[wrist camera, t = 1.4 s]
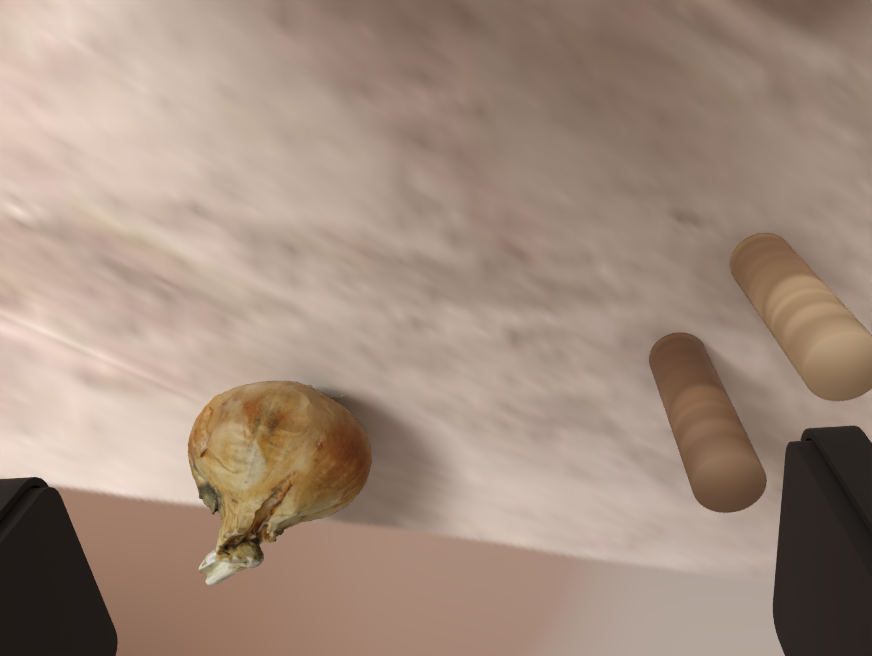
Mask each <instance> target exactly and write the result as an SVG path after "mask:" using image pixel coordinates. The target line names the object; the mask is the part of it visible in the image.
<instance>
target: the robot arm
mask: <svg viewBox="0 0 872 656" xmlns="http://www.w3.org/2000/svg"><path fill="white" fill-rule="evenodd" d="M773 618H774V624H775V629H776V633H777V636H778V639H779V641H780V644H781V647H782V649H783V652H784V654H785V656H872V443H871V442H870V440H869V439H868V437H867V436H866V435H865V433H864V432H863V431H862V430H861V429H860V428H859V427H857V426H840V427H824V428H808V429H806V430H804V432H803V434H802V437H801V441H795V442H789V443H788V445H787V448H786V455H785V466H784V478H783V490H782V502H781V514H780V526H779V538H778V550H777V562H776V573H775V585H774V597H773ZM116 651H117V634H116V630H115V628H114V625H113V623H112V621H111V618H110V616H109V613H108V611H107V608H106V606H105V603H104V601H103V598H102V596H101V593H100V591H99V589H98V586H97V584H96V581H95V579H94V576H93V574H92V571H91V569H90V567H89V564H88V562H87V559H86V557H85V554H84V552H83V549H82V547H81V544H80V542H79V540H78V537H77V535H76V532H75V530H74V528H73V525H72V522H71V520H70V518H69V515H68V513H67V510H66V508H65V505H64V503H63V500H62V498H61V496H60V494H59V492H58V491H57V490H56V489H55V488H51V487H49V486H48V485H47V483H46V482H45V481H44V480H42V479H41V478H37V477H30V478H14V479H0V656H116Z"/></svg>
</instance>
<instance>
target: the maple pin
mask: <svg viewBox="0 0 872 656" xmlns="http://www.w3.org/2000/svg"><path fill="white" fill-rule="evenodd" d="M730 267H731V272H732V275H733V276H734V278H735V280H736V281H737V283H738V284H739V285H740V287H741V288H742V290H743V291H744V293H745V294H746V296H747V297H748V299H749V300H750V302H751V303H752V305H753V306H754V308H755V309H756V311H757V312H758V314H759V315H760V317H761V318H762V320H763V321H764V323H765V324H766V326H767V327H768V329H769V330H770V332H771V333H772V335H773V336H774V338H775V339H776V341H777V342H778V344H779V345H780V347H781V348H782V350H783V351H784V352H785V354H786V355H787V357H788V358H789V360H790V361H791V363H792V364H793V366H794V367H795V369H796V370H797V372H798V373H799V375H800V376H801V378H802V379H803V381H804V382H805V384H806V385H807V387H808V388H809V389H810V390H811V392H813V393H814V394H815V395H817V396H818V397H821V398H823V399H826V400H831V401H844V400H850V399H853V398H856V397H859V396H861V395H863V394H864V393H866V392H868V391H869V390H870V389H872V335H871V334H870V333H869V332H868V331H867V330H866V328H865V327H864V326H863V325H862V324H861V323H860V322H859V321H858V320H857V319H856V318H855V317H854V315H853V314H852V313H851V312H850V311H849V310H848V309H847V308H846V307H845V306H844V305H843V303H842V302H841V301H840V300H839V299H838V298H837V297H836V296H835V295H834V294H833V293H832V291H831V290H830V289H829V288H828V287H827V286H826V285H825V284H824V283H823V282H822V281H821V280H820V278H819V277H818V276H817V275H816V274H815V273H814V272H813V271H812V270H811V269H810V268H809V266H808V265H807V264H806V263H805V262H804V261H803V260H802V259H801V258H800V257H799V256H798V255H797V253H796V252H795V251H794V250H793V249H792V248H791V247H790V246H789V245H788V244H787V243H786V241H784V240H783V239H782V238H781V237H779V236H777V235H774V234H768V233H763V234H756V235H753V236H751V237H749V238H747V239H745V240H744V241H742V242H741V243H740V244H739V245H738V246H737V248H736V249H735V251H734V252H733V254H732V257H731V262H730Z"/></svg>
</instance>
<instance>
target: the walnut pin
mask: <svg viewBox="0 0 872 656" xmlns="http://www.w3.org/2000/svg"><path fill="white" fill-rule="evenodd" d="M649 362H650V366H651V369H652V372H653V375H654V378H655V381H656V384H657V387H658V390H659V393H660V396H661V399H662V402H663V405H664V408H665V411H666V414H667V417H668V420H669V423H670V426H671V428H672V431H673V434H674V437H675V440H676V443H677V446H678V449H679V452H680V455H681V458H682V461H683V464H684V467H685V470H686V473H687V476H688V479H689V482H690V485H691V488H692V491H693V494H694V496H695V498H696V499H697V501H698V502H699V503H700V504H701V505H703V506H704V507H706V508H707V509H710V510H712V511H716V512H723V513H729V512H736V511H740V510H743V509H745V508H747V507H749V506H751V505H752V504H754V503H755V502H756V501H757V500H758V499H759V498H760V497H761V496H762V494H763V492H764V490H765V487H766V481H767V480H766V474H765V471H764V469H763V467H762V465H761V463H760V461H759V459H758V457H757V455H756V453H755V451H754V448H753V446H752V444H751V442H750V440H749V438H748V436H747V434H746V432H745V430H744V428H743V426H742V424H741V422H740V420H739V418H738V415H737V413H736V411H735V409H734V407H733V405H732V403H731V401H730V399H729V397H728V395H727V393H726V391H725V389H724V387H723V385H722V383H721V380H720V378H719V376H718V374H717V372H716V370H715V368H714V366H713V364H712V362H711V360H710V358H709V356H708V354H707V352H706V350H705V347H704V345H703V344H702V342H701V341H700V340H699V339H698V338H696V337H695V336H693V335H690V334H687V333H673V334H670V335H667V336H665V337H663V338H661V339H660V340H659V341H658V342H657V343H656V344H655V345H654V346H653V348H652V350H651V352H650V356H649Z"/></svg>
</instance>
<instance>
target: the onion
mask: <svg viewBox="0 0 872 656" xmlns="http://www.w3.org/2000/svg"><path fill="white" fill-rule="evenodd" d="M343 396H344V395H338V396H328V397H327V396H326V395H324V394H323V393H321V392H319V391H318V390H316V389H314V388H313V387H312V386H311V385H308V386H306V385H303V384H301V383H298V382H291V381H266V382H258V383H253V384H247V385H243V386H240V387H236V388H233V389H231V390H229V391H226V392H224V393H222V394H219V395H217V396H215V397H214V398H213V399H212V400H211V401H210V402H209V403H208V405H207V406H206V407H205V408H204V409H203V411H202V412H201V413H200V415H199V416H198V417H197V418H196V420H195V423H194V425H193V428H192V431H191V434H190V437H189V442H188V456H189V462H190V467H191V471H192V475H193V477H194V479H195V482H196V484H197V488H198V491H199V498H200V499H203V502H204V504H205V505H207V506H208V507H209V508H210V509H211V510H212V514H214V513H215V512H216V511H218V512H219V513H220V516H221V520H222V522H221V526H220V530H219V534H218V541H217V546H216V549H213V551H212V552H210V553H209V554H208V555H207V556H206V558H205V559H204V561H203V562H202V563H201V565H200V567H199V572H201V573H204V574H207V576H208V577H207V579H206V581H205V582H206V583H207V584H208V585H209V586H210V585H215V584H218V583H220V582H222V581H223V580H225V579H227V578H228V577H230V576H231V575H233V574H234V573H235V572H238V571H241V570H244V569H246V568H255V567H257V566H259V565H260V564H261V563H262V561H263V559H264V555H263V552H262V550H261V548H260V546H259V545H260V544H261V543H262V542H265V541H266V542H270V543H271V542H273V541H276V536H278V535H281V534H282V533H283V531H284V529H286V528H289V527H291V526H294V525H296V524H298V523H300V522H306V521H312V520H315V519H321V518H323V517H326V516H329V515H331V514H333V513H335V512H337V511H338V510H340V509H341V508H343V507H345V506H347V505H348V504H349V503H350V502H351V501H352V500H353V499H354V497H355V496H356V495H357V494H358V493H359V492H360V491H361V489H362V488H363V487H364V485H365V483H366V481H367V478H368V475H369V471H370V467H371V463H372V459H371V449H370V444H369V441H368V438H367V436H366V433H365V431H364V430H363V428H362V426H361V424H360V423H359V422H358V421H357V419H356V418H355V417H354V416H353V414H351V413H350V412H349V411H348V410H347V409H346V408H345V407H343V406H342V405H341V404H339V403H338V402H336V401H334V400H332V399H331V398H330V397H333V398H337V397H343Z"/></svg>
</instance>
